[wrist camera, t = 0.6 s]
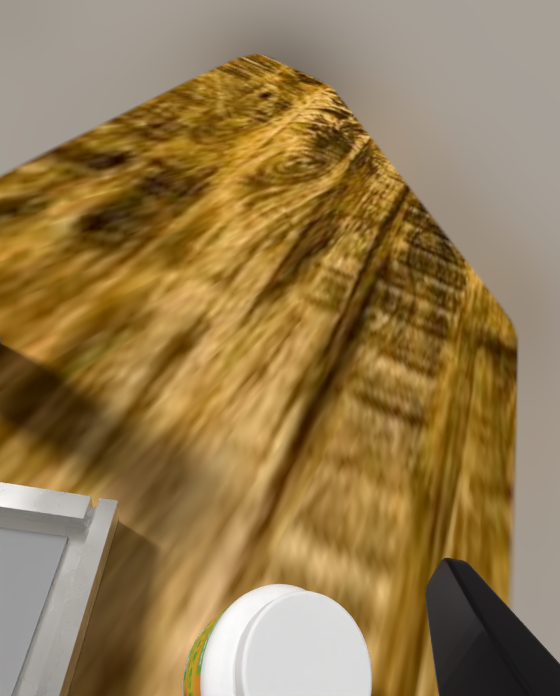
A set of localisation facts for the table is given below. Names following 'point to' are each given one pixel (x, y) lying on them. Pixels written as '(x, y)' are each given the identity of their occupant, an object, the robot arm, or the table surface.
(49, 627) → the grey tray
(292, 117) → the table surface
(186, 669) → the supplement bottle
